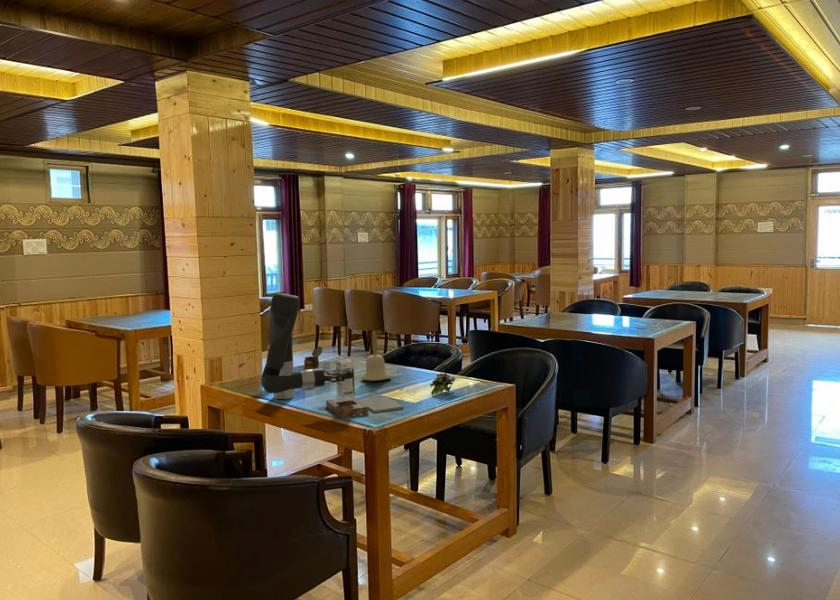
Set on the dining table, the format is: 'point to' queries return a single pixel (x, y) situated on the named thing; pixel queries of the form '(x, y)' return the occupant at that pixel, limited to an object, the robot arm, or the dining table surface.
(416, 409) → the dining table surface
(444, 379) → the green leafy plant
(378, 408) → the slate tile
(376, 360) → the handbell
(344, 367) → the syrup box
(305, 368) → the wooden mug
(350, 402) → the pocket block
